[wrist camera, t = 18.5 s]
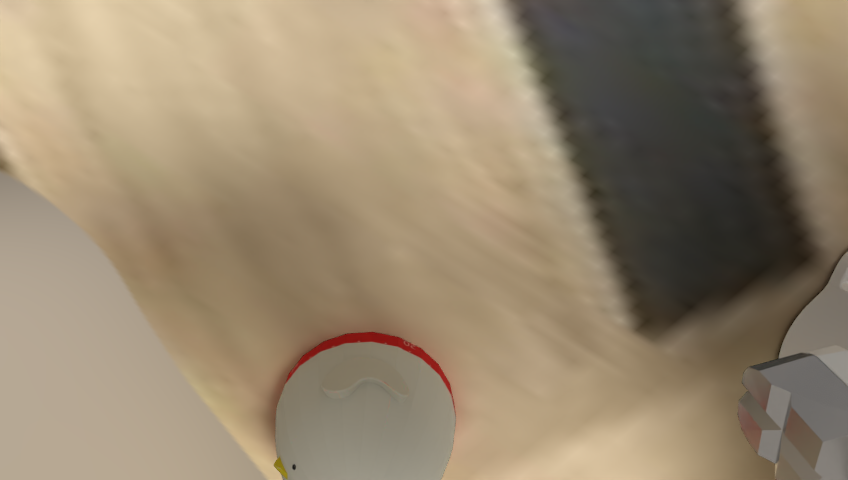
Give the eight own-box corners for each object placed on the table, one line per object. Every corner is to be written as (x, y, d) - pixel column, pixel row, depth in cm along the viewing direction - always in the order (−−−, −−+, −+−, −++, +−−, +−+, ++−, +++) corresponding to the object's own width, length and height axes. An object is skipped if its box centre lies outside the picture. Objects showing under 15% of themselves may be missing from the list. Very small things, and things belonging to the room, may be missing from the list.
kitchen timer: (282, 325, 45) (225, 451, 31) (462, 337, 46) (486, 466, 32) (280, 477, 50) (227, 650, 35) (444, 486, 50) (459, 659, 36)
